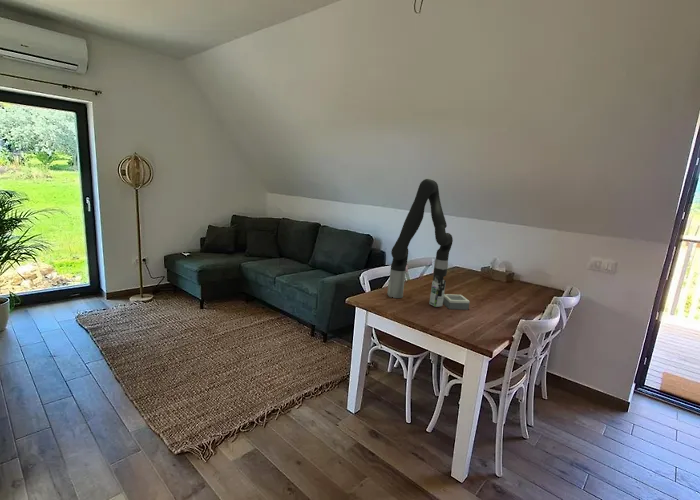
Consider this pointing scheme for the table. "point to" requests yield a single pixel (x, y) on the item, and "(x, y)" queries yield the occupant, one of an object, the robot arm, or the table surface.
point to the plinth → (456, 302)
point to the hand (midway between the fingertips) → (437, 294)
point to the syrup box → (436, 295)
